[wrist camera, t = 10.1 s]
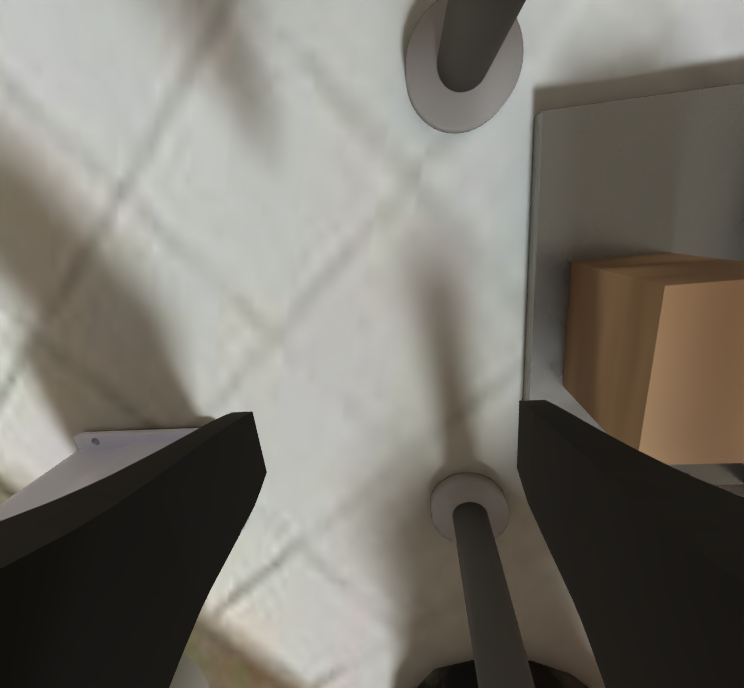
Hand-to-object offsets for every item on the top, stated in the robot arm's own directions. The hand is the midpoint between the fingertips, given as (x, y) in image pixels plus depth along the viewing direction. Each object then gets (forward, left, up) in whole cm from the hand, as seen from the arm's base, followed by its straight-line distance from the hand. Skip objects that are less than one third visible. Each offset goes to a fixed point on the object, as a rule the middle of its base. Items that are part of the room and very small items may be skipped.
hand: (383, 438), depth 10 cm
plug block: (+10, 0, -8) cm, 13 cm away
